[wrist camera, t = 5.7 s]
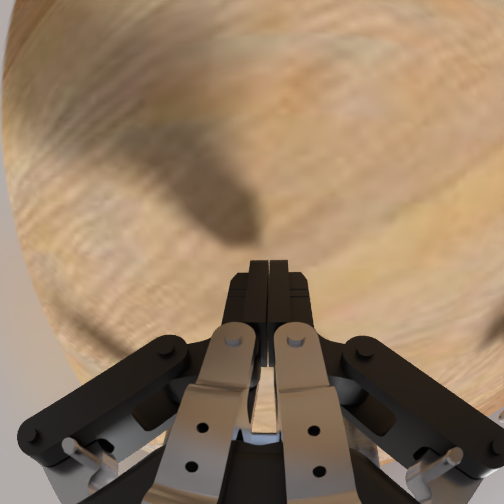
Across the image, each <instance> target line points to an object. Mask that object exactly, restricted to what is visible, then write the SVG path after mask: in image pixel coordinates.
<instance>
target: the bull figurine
mask: <svg viewBox="0 0 504 504" xmlns="http://www.w3.org/2000/svg"><path fill="white" fill-rule="evenodd" d="M499 422H503V423H504V411H503V412H501V413H500V415H499Z"/></svg>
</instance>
